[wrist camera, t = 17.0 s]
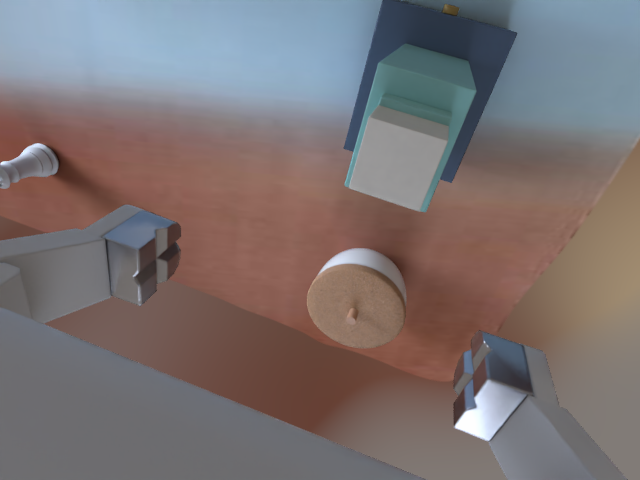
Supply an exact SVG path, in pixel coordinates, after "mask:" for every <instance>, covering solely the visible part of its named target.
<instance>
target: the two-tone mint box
mask: <svg viewBox="0 0 640 480" xmlns="http://www.w3.org/2000/svg"><path fill="white" fill-rule="evenodd" d="M475 94H476V87H475V83H474V79H473V76H472V72H471V69H470V65H469V61H467V60H463V59H460V58H456V57H452V56H449V55H445V54H442V53H438V52H435V51H431V50H427V49H424V48H420V47H417V46H413V45H409V44H404V45H403V46H401V47H400V48H398V49H397V50H396V51H394V52H393V53H391V54H390V55H389V56H387V57H386V58H384V59H383V60H382V61H380V62H379V63H378V66H377V70H376V73H375V77H374V81H373V84H372V88H371V91H370V95H369V98H368V102H367V106H366V109H365V113H364V116H363V120H362V124H361V127H360V131H359V134H358V138H357V142H356V145H355V149H354V152H353V156H352V160H351V163H350V167H349V170H348V174H347V178H346V181H345V186H346V187H349V189H352V190H355V191H358V192H361V193H364V194H367V195H371V196H374V197H377V198H380V199H383V200H386V201H389V202H392V203H395V204H398V205H401V206H404V207H407V208H410V209H413V210H416V211H422V212H426V211H427V208H428V206H429V204H430V201H431V199H432V196H433V194H434V192H435V189H436V187H437V184H438V182H439V180H440V177H441V175H442V173H443V170H444V168H445V165H446V163H447V161H448V158H449V156H450V154H451V151H452V149H453V146H454V144H455V142H456V139H457V137H458V134H459V132H460V130H461V127H462V125H463V123H464V120H465V118H466V115H467V113H468V111H469V108H470V106H471V103H472V101H473V99H474V96H475Z"/></svg>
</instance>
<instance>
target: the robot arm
mask: <svg viewBox="0 0 640 480" xmlns="http://www.w3.org/2000/svg"><path fill="white" fill-rule="evenodd" d="M180 237H181V226H180V225H179V224H178V223H177V222H175V221H172V220H169V219H167V218H164V217H161V216H159V215H156V214H154V213H151V212H148V211H144V210H143V209H140V208H137V207H134V206H132V205H123V206H122V207H120V208H118V209H117V210H115V211H113V212H112V213H110V214H108V215H107V216H105V217H103V218H102V219H100V220H98V221H97V222H95V223H93V224H92V225H90V226H88V227H87V228H85V229H83V230H79V229H71V230H64V231H58V232H52V233H46V234H40V235H33V236H28V237H21V238H15V239H9V240H2V241H0V480H426V479H424V478H421V477H419V476H416V475H414V474H411V473H409V472H407V471H404V470H402V469H399V468H397V467H394V466H392V465H389V464H387V463H384V462H382V461H379V460H377V459H375V458H372V457H370V456H367V455H364V454H362V453H360V452H357V451H355V450H352V449H350V448H347V447H345V446H343V445H340V444H338V443H335V442H333V441H330V440H328V439H325V438H323V437H320V436H318V435H316V434H313V433H310V432H308V431H306V430H303V429H301V428H298V427H296V426H293V425H291V424H288V423H286V422H283V421H281V420H279V419H276V418H274V417H271V416H269V415H266V414H264V413H261V412H259V411H256V410H254V409H252V408H249V407H247V406H244V405H242V404H239V403H237V402H234V401H232V400H229V399H226V398H224V397H222V396H220V395H217V394H214V393H212V392H210V391H207V390H205V389H202V388H200V387H197V386H195V385H192V384H190V383H188V382H185V381H182V380H180V379H178V378H175V377H173V376H170V375H168V374H165V373H163V372H160V371H158V370H156V369H153V368H150V367H148V366H146V365H143V364H141V363H138V362H136V361H133V360H131V359H128V358H126V357H123V356H121V355H119V354H116V353H114V352H111V351H109V350H106V349H104V348H101V347H99V346H96V345H94V344H91V343H89V342H87V341H84V340H82V339H79V338H77V337H74V336H72V335H69V334H67V333H64V332H62V331H59V330H57V329H55V328H52V327H50V326H47V325H45V324H44V323H46V322H49V321H51V320H54V319H57V318H59V317H62V316H64V315H67V314H69V313H72V312H74V311H77V310H80V309H82V308H85V307H87V306H90V305H92V304H95V303H98V302H100V301H103V300H106V299H108V298H110V297H111V296H114V297H117V298H119V299H122V300H125V301H128V302H131V303H134V304H136V305H139V306H141V305H142V304H143V303H144V302H145V301H146V300H148V299H149V298H150V297H151V296H152V295H153V294H154V293H155V292H156V291H157V284H158V283H161V282H165V281H167V280H168V279H169V278H170V277H171V276H172V275H173V274H174V272H175V270H176V268H177V267H178V264H179V260H180V252H181V250H180V248H179V246H178V245H177V243H176V241H177V240H178V239H179V238H180ZM453 387H454V390H455V392H456V393H457V395H458V397H457V399H456V401H455V402H454V428H457V429H459V430H462V431H464V432H467V433H469V434H471V435H474V436H476V437H478V438H481V439H483V440H486V441H488V442H489V445H490V447H491V449H492V451H493V453H494V455H495V457H496V459H497V461H498V463H499V465H500V466H501V468H502V470H503V472H504V474H505V476H506V478H507V480H627V479H626V477H625V476H624V475H623V474H622V473H621V472H620V471H619V469H618V468H617V467H616V466H615V465H614V463H613V462H612V461H611V460H610V459H609V458H608V457H607V455H606V454H605V453H604V452H603V451H602V450H601V448H600V447H599V446H598V445H597V444H596V443H595V441H594V440H593V439H592V438H591V437H590V436H589V435H588V434H587V432H586V431H585V430H584V429H583V428H582V426H580V424H579V423H578V422H577V421H576V420H575V418H574V417H573V416H572V415H571V414H570V413H569V412H568V410H567V409H565V408H562V407H560V406H559V402H558V398H557V395H556V391H555V388H554V384H553V381H552V377H551V373H550V370H549V366H548V362H547V359H546V355H545V354H544V352H543V351H541V350H539V349H536V348H532V347H529V346H526V345H523V344H518V343H515V342H513V341H509V340H507V339H504V338H501V337H498V336H495V335H493V334H490V333H487V332H484V331H481V330H479V331H478V332H476V333H475V335H474V336H473V338H472V339H471V350H469V351H466V352H464V353H463V354H462V356H461V358H460V359H459V361H458V364H457V367H456V370H455V374H454V385H453Z"/></svg>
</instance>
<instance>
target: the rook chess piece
mask: <svg viewBox="0 0 640 480" xmlns="http://www.w3.org/2000/svg"><path fill="white" fill-rule="evenodd" d="M58 167H59V161H58V158H57V156H56V155H55V153H54V152H53V151H52V150H51V149H50V148H49V147H47V146H45V145H42V144H40V143H37V144H33V145H32V146H28V147H27V148H26V149H24V151H23V152H22V153H21V155H20V156H19V157H17V158H15V159H13V160H11V161H8V162H7V161H3V162H1V164H0V188H4V189H7V188H8V187H9V186H10V183H11V182H18V181H19V179H22V178H25V177H30V176H39V177H47V176H49V175H53V174H55V173H56V172H57V170H58Z"/></svg>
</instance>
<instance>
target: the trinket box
mask: <svg viewBox="0 0 640 480" xmlns="http://www.w3.org/2000/svg"><path fill="white" fill-rule="evenodd" d="M307 307H308V311H309V314H310V316H311V318H312V320H313V322H314V323H315V324H316V326H317V327H318V328H319V329H320V330H321V331H322V332H323V333H324V334H325V335H327V336H328V337H330V338H331V339H333V340H335V341H337V342H339V343H341V344H344V345H346V346H351V347H356V348H374V347H378V346H381V345H384V344H386V343H388V342H390V341H391V340H393V339H394V338H395V337H396V336H397V335H398V334H399V333H400V331H401V330H402V328H403V325H404V322H405V317H406V288H405V283H404V279H403V277H402V274H401V273H400V271H399V269H398V268H397V266H396V265H395V264H394V263H393V262H392V261H391V260H390V259H389V258H388V257H386V256H385V255H383V254H381V253H379V252H377V251H374V250H371V249H366V248H354V249H349V250H346V251H343V252H341V253H339V254H337V255H335V256H334V257H333V258H331V259H330V260H329V261H328V262H327V263H326V264H325V265H324V267H323V268H322V269H321V270H320V272H319V273H318V275H317V277H316V278H315V280H314V281H313V282H312V284H311V286H310V289H309V291H308V295H307Z"/></svg>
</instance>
